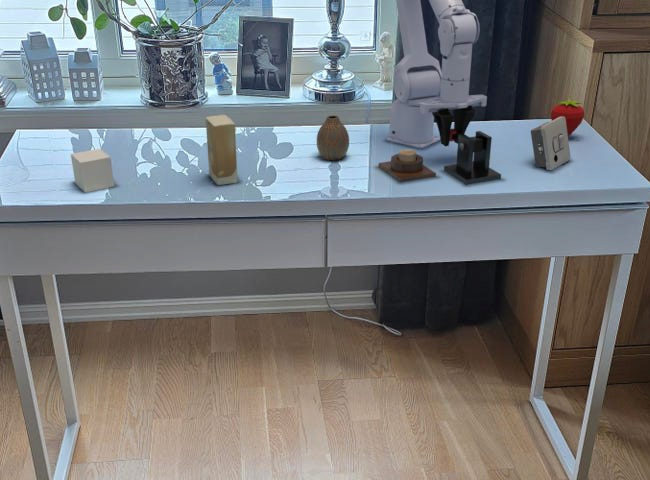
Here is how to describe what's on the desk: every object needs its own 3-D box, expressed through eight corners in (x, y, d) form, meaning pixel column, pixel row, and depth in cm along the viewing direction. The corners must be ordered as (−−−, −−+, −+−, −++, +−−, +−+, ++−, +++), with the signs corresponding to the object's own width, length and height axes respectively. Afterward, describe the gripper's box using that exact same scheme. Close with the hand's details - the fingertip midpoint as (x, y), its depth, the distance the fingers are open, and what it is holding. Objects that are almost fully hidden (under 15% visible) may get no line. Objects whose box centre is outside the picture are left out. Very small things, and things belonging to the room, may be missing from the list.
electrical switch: (550, 172, 184) (552, 127, 180) (527, 169, 187) (528, 124, 183) (570, 160, 191) (573, 116, 186) (548, 158, 194) (550, 114, 189)
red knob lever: (442, 140, 188) (443, 128, 187) (453, 139, 189) (453, 126, 188) (472, 153, 179) (472, 140, 177) (483, 151, 179) (484, 138, 178)
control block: (378, 167, 187) (378, 153, 185) (412, 162, 190) (412, 148, 188) (400, 183, 179) (401, 168, 178) (435, 177, 182) (436, 163, 180)
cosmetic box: (208, 175, 183) (204, 116, 176) (229, 172, 184) (225, 113, 178) (217, 186, 178) (213, 125, 171) (238, 183, 179) (235, 122, 173)
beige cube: (75, 183, 179) (70, 153, 176) (104, 177, 182) (100, 148, 179) (85, 192, 175) (80, 162, 172) (114, 186, 178) (110, 157, 175)
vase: (353, 154, 194) (353, 113, 189) (343, 164, 189) (343, 123, 184) (323, 150, 196) (322, 110, 191) (312, 160, 190) (311, 119, 186)
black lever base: (443, 171, 185) (446, 131, 181) (477, 165, 188) (480, 126, 183) (466, 185, 178) (469, 144, 174) (500, 179, 181) (504, 139, 176)
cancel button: (395, 158, 184) (395, 150, 183) (410, 156, 185) (411, 148, 184) (403, 164, 181) (403, 155, 180) (419, 161, 182) (419, 153, 181)
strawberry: (544, 134, 206) (549, 90, 201) (576, 133, 206) (583, 89, 201) (551, 142, 201) (557, 97, 196) (584, 141, 201) (591, 96, 196)
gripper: (433, 86, 175) (429, 154, 182) (497, 78, 180) (491, 144, 187) (416, 77, 180) (413, 144, 188) (478, 70, 185) (473, 135, 193)
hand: (451, 143), depth 188 cm, fingers closed on red knob lever, 2 cm apart
